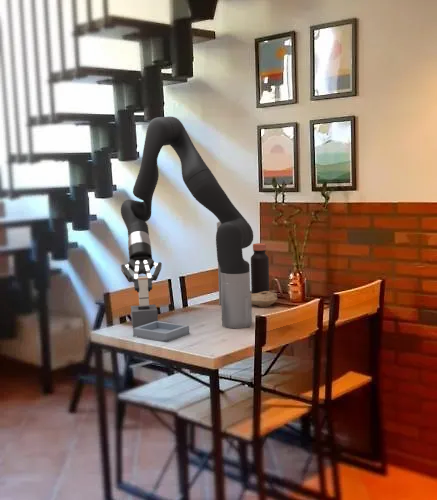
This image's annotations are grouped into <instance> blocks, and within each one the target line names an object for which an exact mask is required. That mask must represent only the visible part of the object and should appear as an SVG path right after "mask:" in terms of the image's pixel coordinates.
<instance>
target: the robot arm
mask: <svg viewBox="0 0 437 500" xmlns="http://www.w3.org/2000/svg"><path fill="white" fill-rule="evenodd" d="M180 120H181V119H178V117H175V116H160V117H154V118H152V119H151V120H150V122H149V123H148V126H147V128H146V132H145V138H144V144H143V150H142V156H141V162H140V168H139V171H138V173H137V177H136V180H135V182H134V185H133V189H132V193H133V196H134V197H136V198H137V199H139V200H134V199H126V200H124V201H123V202H122V203H121V205H120V215H121V218H122V220H123V223H124V225H125V226H126V230H127V236H128V241H127V246H128V247H127V248H128V259H129V261H128V264H121V266H120V267H121V268H120V269H121V272H122V274H123V275H124V277H125V278H126V280H127V281H128V283H133V284H134V285H133V286H134V287H133V288H134V291H135V292H136V293H139V284H138V276H140V275H144V276H147V277H148V293H150V292H151V291H152V289H153V281H157V279H158V277H159V275H160V272H162V271H161V270H162V266H163V264H162V262H160V261H159V262H158V263H157V262H155V260H154V259H153V252H152V243H151V238H150V232H149V225H148V224H147V222H148V221H149V220H150V218H151V216H152V204H153V203H152V202H153V196H154V193H155V191H156V187H157V185H158V182H159V173H160V172H159V166H158V158H159V154H160V152H161V150H162V148H163V147H164V146H170V147H171V148H172V149H173V150H174V151H175V153H176V155H177V156H178V158H179V161H180V165H181V176H182V180H183V182H184V184H185V186H186V188H187V189H188V191H189V192H190V194H191V195H192V197H193V198H194V199H195V200H196V201H197V202H198V203H199V204H200V205H201V206H203V207H204V208H206V210H208V211H210V212H211V213H212V214H213V215H214V216H215V217H216V218H217V219H218V222H219V221H220V222H221V225H220V226H219V227H218V229H217V228H216V235H215V245H216V258H217V265H218V264H219V266H220V274H221V305H220V306H221V307H220V308H221V325H222V327H224V328H227V329H228V328H229V329H243V328H250V327H251V325H252V324H253V315H252V314H253V309H252V308H253V307H252V305H253V304H252V301H251V294H252V293H251V265H250V263H249V262H248V260H245V259H244V257H243V250H244V249H246V248H248V247H250V246H251V244H252V243H253V242H254V231H253V228H252V227H251V225H250V223H249V222H248V221H247V219H245V217H244V216H243V214H241V212H240V211H239V210H238V209H237V207H235V205H234V204H233V202H232V201H231V199H230V198H229V197H228V195H227V193H226V191H225V190H224V189H223V188H222V186H221V185H220V183H219V182H218V180H217V178H216V176H215V175H214V174H213V172H212V171H211V169H210V168H209V166H208V165H207V164H206V162H205V161H204V159H203V158H202V156H201V155H200V153H199V151H198V150H197V148H196V147H195V145H194V143H193V141H192V139H191V137H190V136H189V134H188V132H187V130H186V128H185V126H184V125H183V123H182V122H181V121H180ZM140 200H141V201H140ZM153 268H154V272H153V274H151V273H152V272H151V270H152V269H153ZM129 269H130V270H131V271H132V272H133V275H132V274H131V272H130V271H129Z"/></svg>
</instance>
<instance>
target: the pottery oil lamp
mask: <svg viewBox="0 0 437 500" xmlns="http://www.w3.org/2000/svg"><path fill="white" fill-rule="evenodd" d="M250 294H251V301H252V305H253V306H257V307H260V308H268V307H270V306H271V305H273V304H275V302H276V301H277V300H278V294H277V293H276V292H271V291H270V290H269V291H263V292H259V293H254V294H252V293H250Z"/></svg>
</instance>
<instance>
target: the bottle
mask: <svg viewBox="0 0 437 500" xmlns="http://www.w3.org/2000/svg"><path fill="white" fill-rule="evenodd" d="M266 250H267V244H266V243H264V242H263V243H253V244H252V252H253V253H252V255H251V256H250V292H251V294H254V293H259V292H263V291H270V268H269V267H270V266H269V264H270V263H269V262H270V261H269V260H270V259H269V256H268V255H267V254H266Z"/></svg>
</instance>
